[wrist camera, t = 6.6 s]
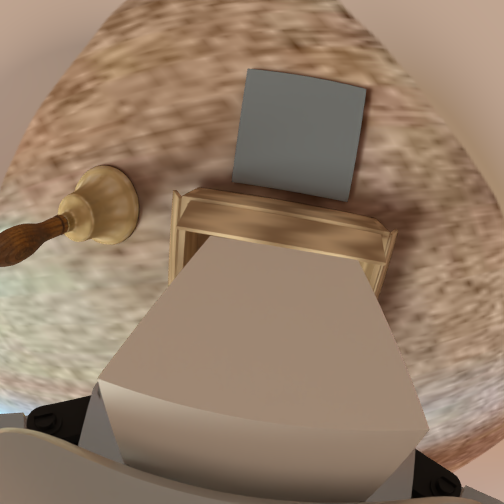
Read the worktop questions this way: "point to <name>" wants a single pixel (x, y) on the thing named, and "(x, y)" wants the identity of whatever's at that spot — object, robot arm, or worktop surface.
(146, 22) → the worktop surface
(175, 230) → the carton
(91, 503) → the robot arm
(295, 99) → the slate mat
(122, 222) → the hand bell
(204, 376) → the white box
